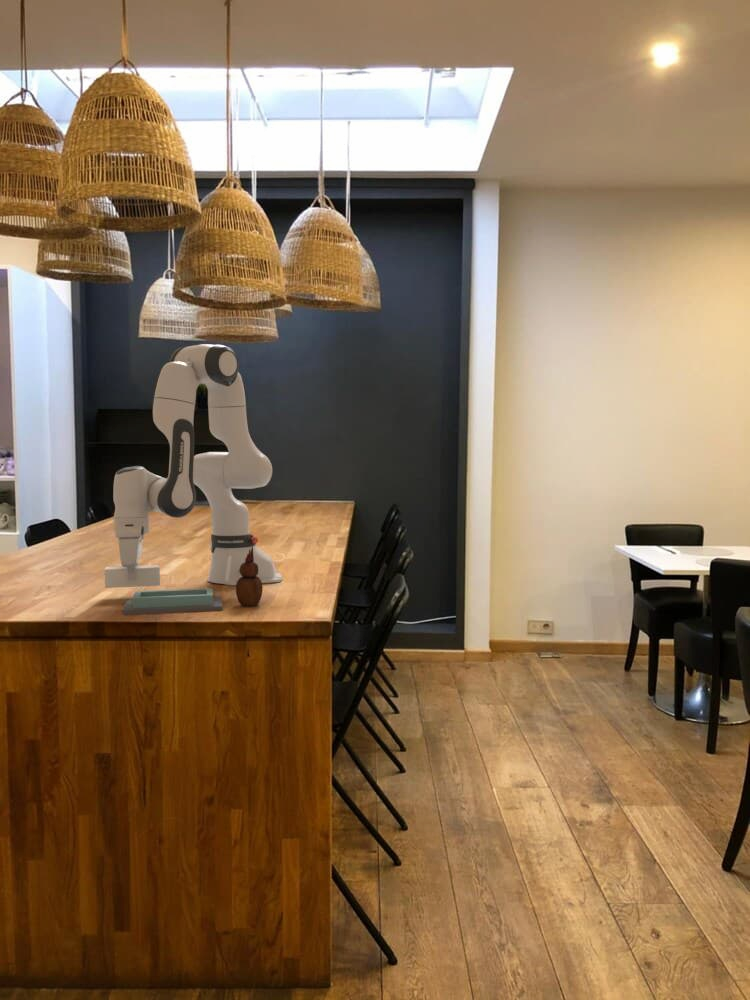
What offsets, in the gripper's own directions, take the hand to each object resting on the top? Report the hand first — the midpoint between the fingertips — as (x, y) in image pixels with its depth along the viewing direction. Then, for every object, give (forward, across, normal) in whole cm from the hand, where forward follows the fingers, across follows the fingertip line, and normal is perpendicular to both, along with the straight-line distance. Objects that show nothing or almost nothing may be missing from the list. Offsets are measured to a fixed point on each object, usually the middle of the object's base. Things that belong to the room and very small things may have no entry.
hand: (132, 577), depth 206 cm
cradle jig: (+5, +14, +11) cm, 18 cm away
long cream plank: (+2, 0, 0) cm, 2 cm away
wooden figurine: (+6, +15, +30) cm, 34 cm away
